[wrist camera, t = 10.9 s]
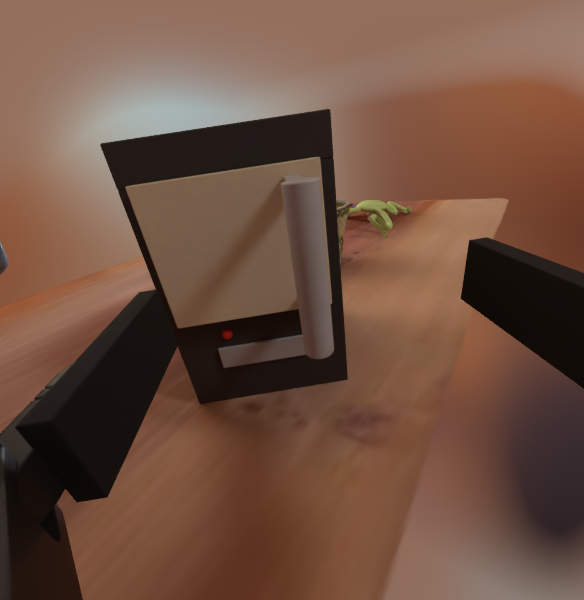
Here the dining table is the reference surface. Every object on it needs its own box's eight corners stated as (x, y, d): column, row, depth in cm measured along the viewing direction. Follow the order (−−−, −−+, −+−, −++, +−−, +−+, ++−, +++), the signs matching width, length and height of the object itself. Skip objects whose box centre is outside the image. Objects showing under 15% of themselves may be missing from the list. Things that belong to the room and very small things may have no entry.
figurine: (302, 239, 67) (299, 214, 64) (349, 212, 86) (348, 192, 83) (383, 242, 57) (383, 213, 54) (415, 211, 76) (416, 188, 73)
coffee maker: (349, 383, 25) (332, 107, 16) (198, 408, 25) (94, 143, 16) (321, 309, 37) (303, 128, 28) (220, 325, 37) (168, 148, 28)
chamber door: (356, 355, 15) (347, 156, 11) (146, 389, 15) (55, 202, 11) (329, 298, 21) (317, 156, 17) (180, 322, 21) (130, 185, 17)
